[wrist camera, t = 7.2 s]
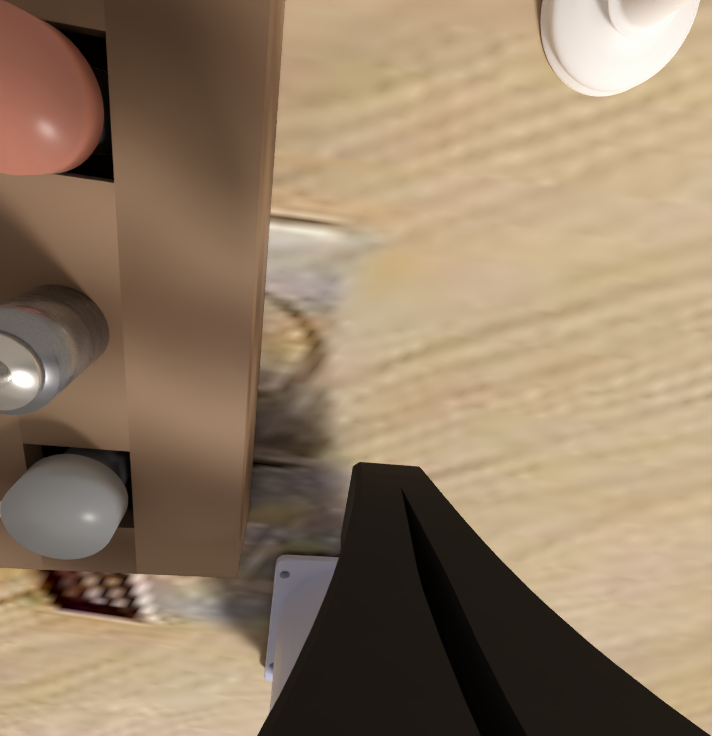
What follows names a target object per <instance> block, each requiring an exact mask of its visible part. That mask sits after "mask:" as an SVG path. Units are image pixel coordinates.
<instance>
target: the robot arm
mask: <svg viewBox="0 0 712 736" xmlns="http://www.w3.org/2000/svg"><path fill="white" fill-rule="evenodd" d="M282 571H287V572H282ZM264 677H265V679H266V680H267V681H269V682H272V691H271V703H270V713H269V715H268V717H267V719H266V721H265V723H264V724H263V726H262V728H261V730H260V732H259V734H258V735H257V736H710V735H709V734H708V733H706V732H705V731H703V730H702V729H701V728H699V727H698V726H696V725H695V724H694V723H692V722H691V721H690V720H688V719H687V718H685V717H684V716H683V715H681V714H680V713H679V712H677V711H676V710H675V709H673V708H672V707H670V706H669V705H668V704H666V703H665V702H664V701H662V700H661V699H660V698H658V697H657V696H656V695H655V694H653V693H652V692H651V691H649V690H648V689H647V688H646V687H644V686H643V685H642V684H640V683H639V682H638V681H637V680H635V679H634V678H633V677H631V676H630V675H629V674H628V673H626V672H625V671H624V670H623V669H621V668H620V667H619V666H617V665H616V664H615V663H614V662H612V661H611V660H610V659H609V658H607V657H606V656H605V655H604V654H603V653H601V652H600V651H599V650H598V649H596V648H595V647H594V646H593V645H592V644H590V643H589V642H588V641H587V640H586V639H585V638H583V637H582V636H581V635H580V634H579V633H578V632H577V631H575V630H574V629H573V628H572V627H571V626H570V625H569V624H568V623H566V622H565V621H564V620H563V619H562V618H561V617H560V616H558V615H557V614H556V613H555V612H554V611H553V610H552V609H551V608H549V607H548V606H547V605H546V604H545V603H544V602H543V601H542V600H541V599H540V598H539V597H538V596H537V595H535V594H534V593H533V592H532V591H531V590H530V589H529V588H528V587H527V586H526V585H525V584H524V583H523V582H522V581H521V580H520V579H519V578H518V577H517V576H516V575H515V574H514V573H513V572H512V571H511V570H510V569H509V568H508V567H507V566H506V565H505V564H504V563H503V562H502V561H501V560H500V559H499V557H498V556H497V555H496V554H495V553H494V552H493V551H492V550H491V549H490V548H489V547H488V546H487V545H486V544H485V543H484V541H483V540H482V539H481V538H480V537H479V536H478V535H477V534H476V533H475V531H474V530H473V529H472V528H471V527H470V526H469V525H468V524H467V522H466V521H465V520H464V519H463V518H462V517H461V515H460V514H459V513H458V512H457V511H456V510H455V508H454V507H453V506H452V505H451V504H450V503H449V501H448V500H447V499H446V498H445V497H444V495H443V494H442V493H441V492H440V491H439V489H438V488H437V487H436V486H435V485H434V483H433V482H432V481H431V480H430V479H429V477H428V476H427V475H426V474H425V473H424V471H423V470H422V469H421V468H420V467H416V466H404V465H391V464H378V463H365V462H359V463H357V464H356V465H354V466H353V469H352V475H351V481H350V487H349V492H348V498H347V504H346V510H345V516H344V521H343V527H342V533H341V551H340V555H339V557H324V556H304V555H282V556H280V557H278V558H277V560H276V567H275V577H274V587H273V596H272V606H271V615H270V625H269V635H268V644H267V654H266V664H265V673H264Z"/></svg>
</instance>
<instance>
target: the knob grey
mask: <svg viewBox="0 0 712 736" xmlns="http://www.w3.org/2000/svg"><path fill="white" fill-rule="evenodd" d="M130 476H131V462H130V452H129V451H116V450H103V449H89V448H76V447H69V448H68V449H67V450H66V451H65V452H64V454H57V455H52V456H49V457H45V458H43V459H41V460H39V461H37V462H36V463H35V464H33V465H32V466H31V467H30V468H29V469H28V470H27V471H26V472H25V473H24V475H23V476H22V477H21V478H20V479H19V480H18V481H17V482H16V483H15V484H14V485H13V486H12V487H11V488H10V489H9V490H8V492H7V493H6V494H5V496H4V497H3V500H2V501H1V502H0V517H1V519H2V522H3V525H4V527H5V528H6V530H7V531H8V533H9V534H10V535H11V536H12V538H13V539H15V540H16V541H17V542H18V543H19V544H21V545H22V546H23V547H25V548H27V549H28V550H30V551H32V552H35V553H37V554H40V555H42V556H46V557H49V558H55V559H64V560H71V559H80V558H85V557H88V556H91V555H93V554H95V553H97V552H99V551H100V550H102V549H103V548H104V547H105V546H106V545H107V544H108V543H109V541H110V540H111V538H112V536H113V534H114V533H115V531H116V529H117V527H118V525H119V524H120V522H121V520H122V518H123V516H124V514H125V512H126V510H127V506H128V494H127V491H126V488H125V484H126V482H127V481H128V479H129V477H130Z"/></svg>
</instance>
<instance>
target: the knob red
mask: <svg viewBox="0 0 712 736" xmlns="http://www.w3.org/2000/svg"><path fill="white" fill-rule="evenodd" d="M91 154H102V155H112V154H113V151H112V134H111V117H110V99H109V82H108V73H107V72H105V71H102V70H100V69H97V68H95V67H93V66H90V65H89V64H88V62H87V60H86V59H85V57H84V56H83V55H82V53H81V52H80V51H79V49H78V48H77V47H76V46H75V45H74V44H73V43H72V42H71V41H70V39H68V38H67V37H66V36H65V35H64V34H63V33H62V32H60V31H59V30H58V29H56V28H55V27H53V26H52V25H50V24H49V23H47V22H45V21H43V20H41V19H39V18H37V17H35V16H33V15H31V14H30V13H28V12H26V11H24V10H22V9H20V8H18V7H16V6H14V5H12V4H10V3H8V2H5V1H3V0H0V173H4V174H9V175H41V174H57V173H62V172H66V171H69V170H72V169H74V168H76V167H77V166H79V165H81V164H82V163H83V162H84V161H86V160H87V159H88V158H89V156H90V155H91Z"/></svg>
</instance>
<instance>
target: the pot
mask: <svg viewBox="0 0 712 736" xmlns="http://www.w3.org/2000/svg"><path fill="white" fill-rule="evenodd" d="M108 342H109V327H108V323H107V320H106V318H105V316H104V314H103V312H102V311H101V309H100V308H99V307H98V306H97V305H96V303H95V302H94V301H93V300H91V299H90V298H89V297H88V296H86V295H85V294H83V293H82V292H80V291H78V290H76V289H73V288H71V287H67V286H63V285H54V284H51V285H43V286H39V287H36V288H34V289H32V290H29V291H27V292H25V293H23V294H20V295H18V296H16V297H14V298H11V299H9V300H7V301H5V302H2V303H0V414H7V415H22V414H28V413H32V412H35V411H37V410H39V409H41V408H43V407H44V406H45V405H47V404H48V403H49V402H50V401H51V400H52V399H53V398H55V397H56V396H57V395H58V394H59V393H60V392H61V391H62V390H64V389H65V388H66V387H67V386H68V385H69V384H70V383H71V382H72V381H74V380H75V379H76V378H77V377H78V376H79V375H80V374H81V373H83V372H84V371H85V370H86V369H87V368H88V367H89V366H90V365H91V364H93V363H94V362H95V361H96V360H97V359H98V358H99V357H100V356H101V355H102V354H103V353H104V351H105V350H106V348H107V345H108Z"/></svg>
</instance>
